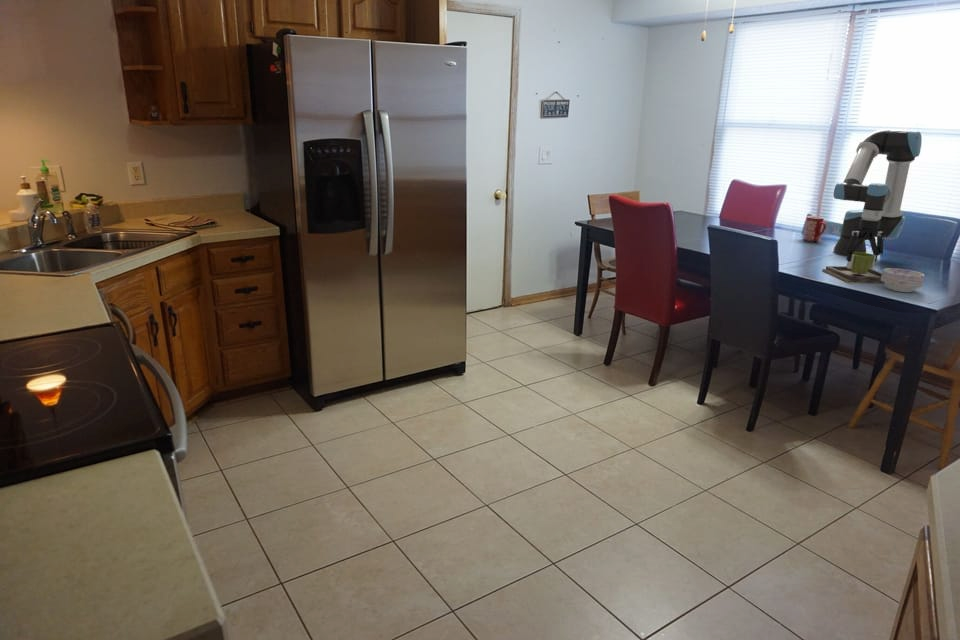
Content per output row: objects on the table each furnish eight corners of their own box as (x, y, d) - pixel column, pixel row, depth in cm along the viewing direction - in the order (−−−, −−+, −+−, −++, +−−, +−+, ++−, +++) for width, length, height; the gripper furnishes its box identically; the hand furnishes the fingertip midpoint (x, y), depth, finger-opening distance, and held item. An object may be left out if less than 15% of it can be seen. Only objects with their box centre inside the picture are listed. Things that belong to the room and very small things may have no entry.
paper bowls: (904, 284, 278) (908, 267, 276) (929, 295, 264) (934, 276, 261) (870, 284, 278) (875, 266, 275) (893, 294, 263) (898, 276, 261)
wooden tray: (867, 271, 299) (868, 266, 298) (895, 283, 280) (896, 277, 280) (822, 270, 298) (823, 265, 297) (846, 282, 279) (848, 276, 279)
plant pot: (843, 269, 294) (847, 251, 291) (864, 270, 293) (869, 252, 290) (852, 274, 285) (856, 256, 282) (874, 276, 284) (878, 257, 281)
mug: (798, 239, 371) (803, 215, 366) (812, 238, 373) (816, 215, 368) (814, 243, 359) (819, 219, 355) (827, 243, 361) (832, 219, 357)
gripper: (851, 220, 277) (840, 270, 284) (900, 221, 278) (888, 270, 285) (841, 217, 284) (831, 266, 291) (889, 218, 285) (877, 266, 292)
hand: (859, 268), depth 288 cm, fingers closed on plant pot, 9 cm apart
